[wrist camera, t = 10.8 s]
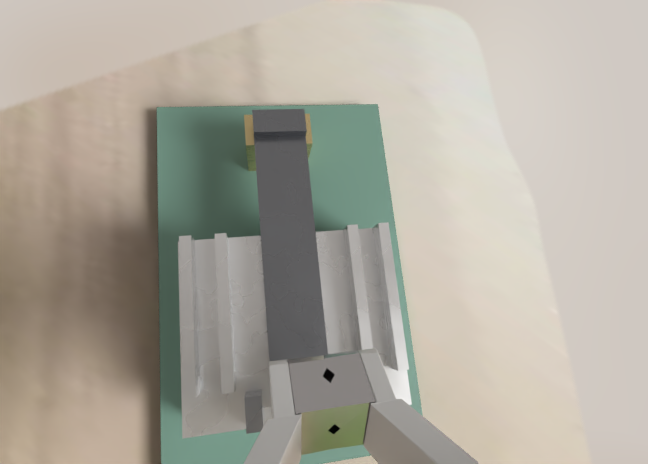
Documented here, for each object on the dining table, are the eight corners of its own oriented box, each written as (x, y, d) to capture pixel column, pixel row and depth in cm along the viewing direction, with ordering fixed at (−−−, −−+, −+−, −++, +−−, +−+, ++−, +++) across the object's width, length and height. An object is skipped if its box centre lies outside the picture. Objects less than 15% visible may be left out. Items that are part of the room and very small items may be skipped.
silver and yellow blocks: (389, 391, 25) (424, 411, 20) (196, 419, 23) (174, 449, 18) (356, 141, 29) (378, 98, 23) (187, 146, 27) (168, 100, 21)
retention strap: (330, 407, 20) (335, 413, 19) (273, 416, 20) (273, 423, 18) (302, 122, 24) (304, 108, 23) (252, 123, 24) (252, 109, 22)
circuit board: (419, 440, 26) (426, 446, 25) (166, 482, 23) (161, 490, 22) (373, 112, 31) (377, 104, 30) (161, 116, 28) (156, 107, 27)
